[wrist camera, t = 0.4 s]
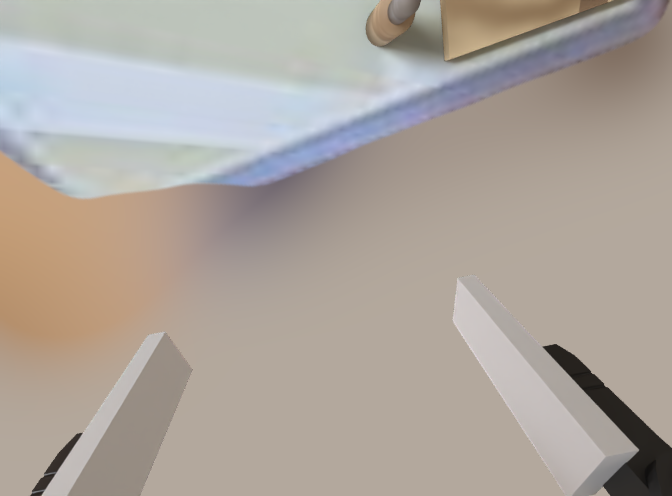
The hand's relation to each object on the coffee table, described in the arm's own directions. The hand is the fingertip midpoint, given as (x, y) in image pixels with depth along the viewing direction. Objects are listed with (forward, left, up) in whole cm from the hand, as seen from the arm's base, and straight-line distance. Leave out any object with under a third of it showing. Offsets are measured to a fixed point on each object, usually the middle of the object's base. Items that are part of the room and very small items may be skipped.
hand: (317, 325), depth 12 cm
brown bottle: (-12, +12, -26) cm, 32 cm away
